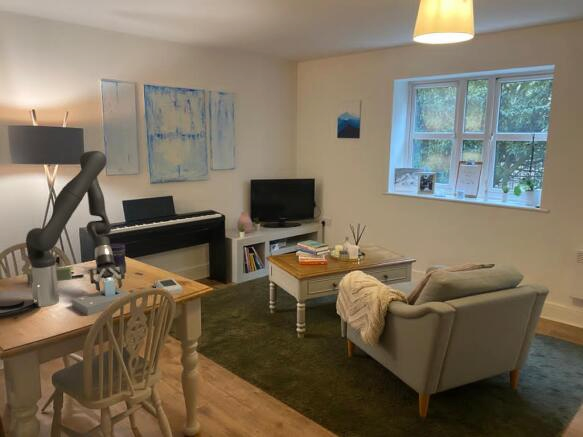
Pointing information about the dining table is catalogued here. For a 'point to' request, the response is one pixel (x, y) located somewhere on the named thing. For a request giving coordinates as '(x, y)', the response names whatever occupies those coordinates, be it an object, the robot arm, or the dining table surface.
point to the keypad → (169, 285)
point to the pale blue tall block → (109, 287)
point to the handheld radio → (58, 274)
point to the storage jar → (119, 255)
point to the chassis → (96, 301)
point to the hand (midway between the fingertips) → (109, 289)
